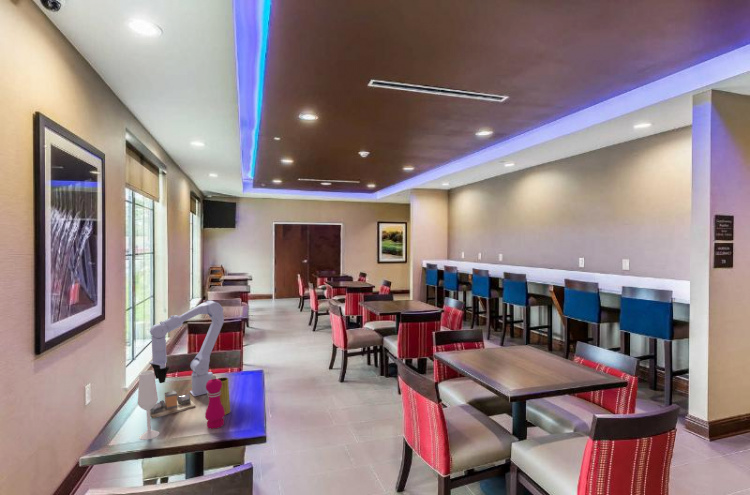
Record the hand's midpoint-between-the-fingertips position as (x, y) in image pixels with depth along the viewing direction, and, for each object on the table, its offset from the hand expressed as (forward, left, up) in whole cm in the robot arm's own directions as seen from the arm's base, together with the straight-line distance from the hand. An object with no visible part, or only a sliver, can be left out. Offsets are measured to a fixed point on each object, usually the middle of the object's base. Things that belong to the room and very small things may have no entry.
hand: (160, 380), depth 188 cm
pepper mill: (-12, +41, -10) cm, 44 cm away
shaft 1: (+4, +13, -10) cm, 17 cm away
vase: (-18, +31, -10) cm, 37 cm away
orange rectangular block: (-2, +12, -9) cm, 15 cm away
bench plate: (-2, +12, -10) cm, 15 cm away
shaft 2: (-7, +12, -10) cm, 17 cm away
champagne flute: (+10, +33, -10) cm, 36 cm away
